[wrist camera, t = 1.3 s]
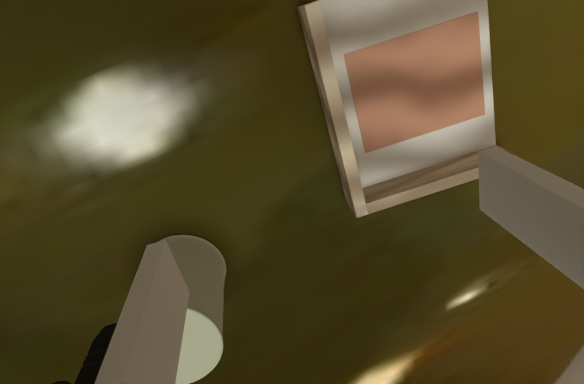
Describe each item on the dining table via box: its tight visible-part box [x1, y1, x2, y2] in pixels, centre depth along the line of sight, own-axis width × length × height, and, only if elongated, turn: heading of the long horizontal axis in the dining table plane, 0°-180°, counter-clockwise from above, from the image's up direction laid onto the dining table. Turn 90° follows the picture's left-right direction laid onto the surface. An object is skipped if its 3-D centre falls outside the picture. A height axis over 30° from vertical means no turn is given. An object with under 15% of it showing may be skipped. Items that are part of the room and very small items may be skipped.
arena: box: [297, 0, 517, 218], centre depth 36 cm, size 20×17×4 cm
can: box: [158, 235, 226, 384], centre depth 38 cm, size 9×9×12 cm
